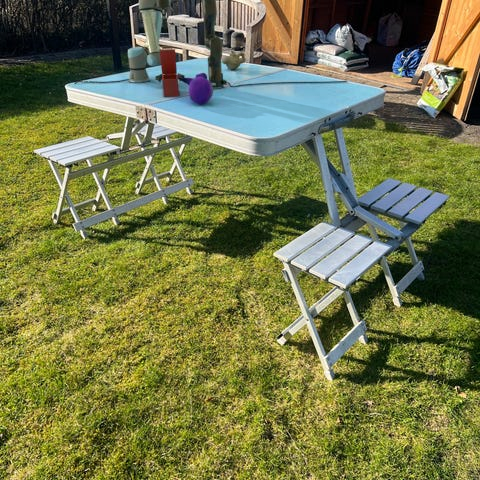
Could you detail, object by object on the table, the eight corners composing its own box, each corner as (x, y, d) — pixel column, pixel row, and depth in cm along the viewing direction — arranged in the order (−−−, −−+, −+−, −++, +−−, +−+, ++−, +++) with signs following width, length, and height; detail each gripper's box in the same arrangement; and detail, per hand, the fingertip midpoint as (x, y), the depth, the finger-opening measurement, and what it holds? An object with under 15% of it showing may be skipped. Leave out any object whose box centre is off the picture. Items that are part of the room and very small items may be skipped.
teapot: (225, 71, 366) (225, 52, 358) (219, 69, 374) (218, 50, 367) (248, 69, 375) (247, 49, 367) (241, 67, 383) (240, 48, 376)
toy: (201, 95, 293) (213, 109, 272) (175, 90, 286) (185, 105, 265) (206, 70, 285) (219, 83, 264) (179, 65, 278) (190, 78, 257)
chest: (179, 96, 293) (177, 78, 288) (164, 97, 292) (162, 79, 287) (178, 90, 308) (176, 73, 303) (163, 91, 307) (162, 74, 301)
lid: (175, 49, 287) (174, 41, 291) (159, 50, 285) (158, 42, 290) (176, 73, 302) (176, 65, 306) (162, 74, 301) (161, 66, 305)
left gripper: (188, 78, 328) (188, 84, 309) (153, 80, 325) (152, 86, 307) (187, 68, 324) (187, 73, 305) (152, 69, 321) (150, 74, 303)
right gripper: (168, -2, 265) (171, 29, 274) (168, -2, 277) (171, 26, 286) (156, -1, 264) (159, 29, 273) (156, -2, 277) (159, 27, 285)
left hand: (169, 79), depth 306 cm, fingers open, 13 cm apart
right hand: (165, 28), depth 279 cm, fingers open, 8 cm apart
